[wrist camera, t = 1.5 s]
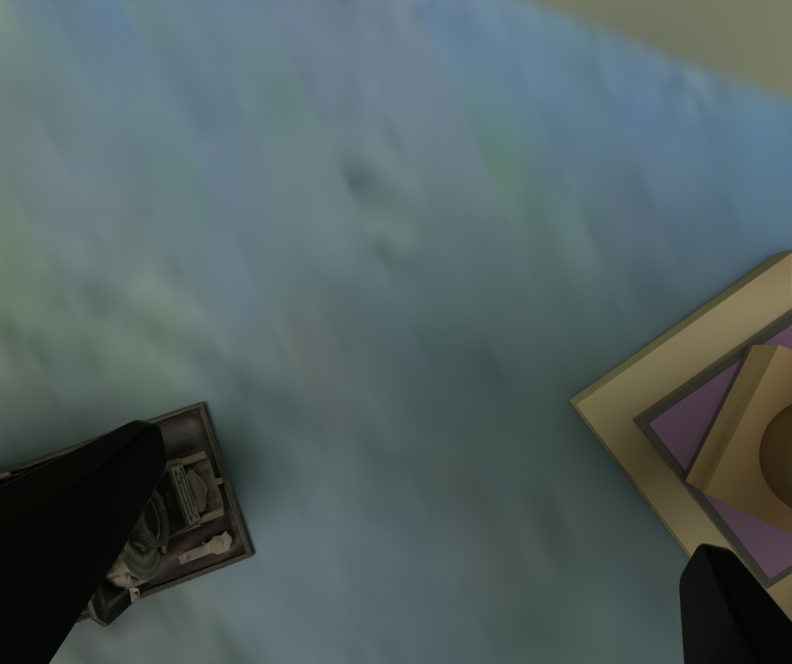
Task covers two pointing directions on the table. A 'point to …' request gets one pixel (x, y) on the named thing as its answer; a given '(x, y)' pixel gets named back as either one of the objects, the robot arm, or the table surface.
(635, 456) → the board
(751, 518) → the ink pad
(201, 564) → the camera
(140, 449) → the robot arm
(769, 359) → the stamp
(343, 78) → the table surface
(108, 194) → the table surface
